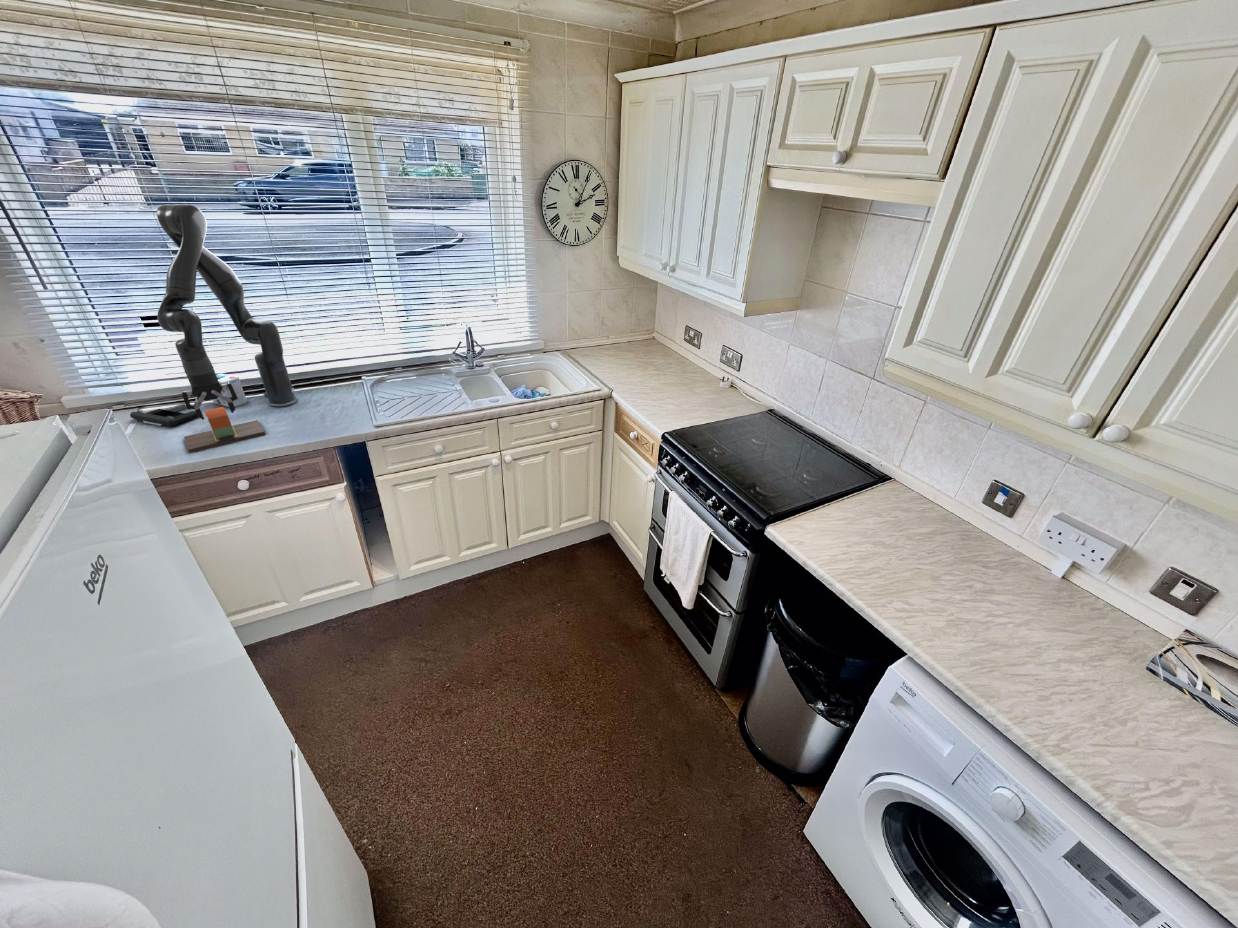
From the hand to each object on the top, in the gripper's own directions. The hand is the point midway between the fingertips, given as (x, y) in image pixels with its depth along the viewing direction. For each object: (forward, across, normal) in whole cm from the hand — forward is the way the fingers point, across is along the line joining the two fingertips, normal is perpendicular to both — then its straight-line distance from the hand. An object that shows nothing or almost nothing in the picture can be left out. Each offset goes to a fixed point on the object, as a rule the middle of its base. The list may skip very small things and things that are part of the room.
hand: (217, 415), depth 179 cm
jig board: (+8, 0, 0) cm, 8 cm away
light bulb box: (+9, -6, -33) cm, 35 cm away
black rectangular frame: (+9, +13, -31) cm, 35 cm away
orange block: (+3, 0, 0) cm, 3 cm away
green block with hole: (+7, 0, 0) cm, 7 cm away
